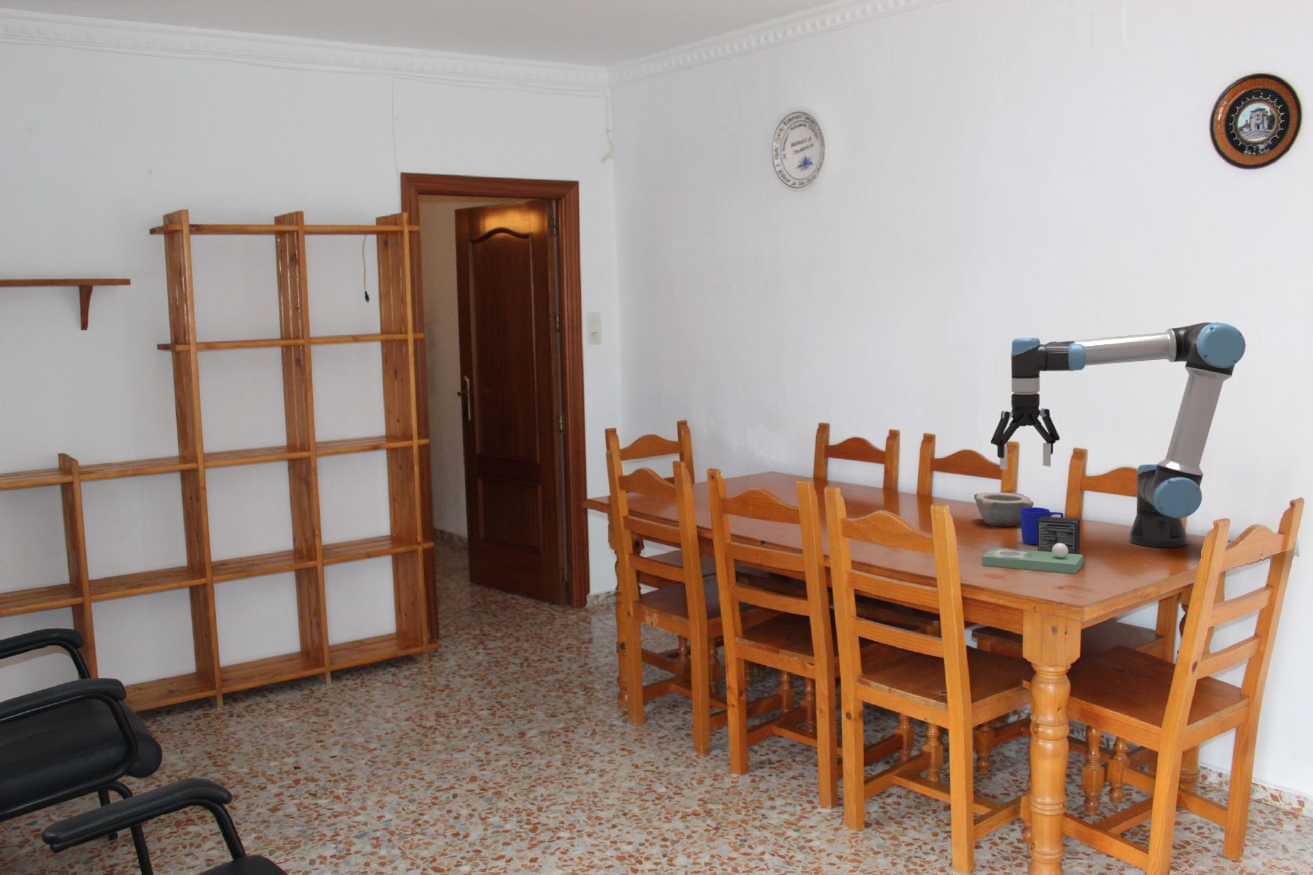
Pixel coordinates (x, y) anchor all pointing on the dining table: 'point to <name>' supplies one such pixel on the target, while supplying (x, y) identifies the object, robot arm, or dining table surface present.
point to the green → (1032, 560)
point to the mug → (1033, 522)
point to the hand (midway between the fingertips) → (1025, 467)
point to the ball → (1060, 550)
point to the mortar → (1002, 507)
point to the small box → (1059, 533)
